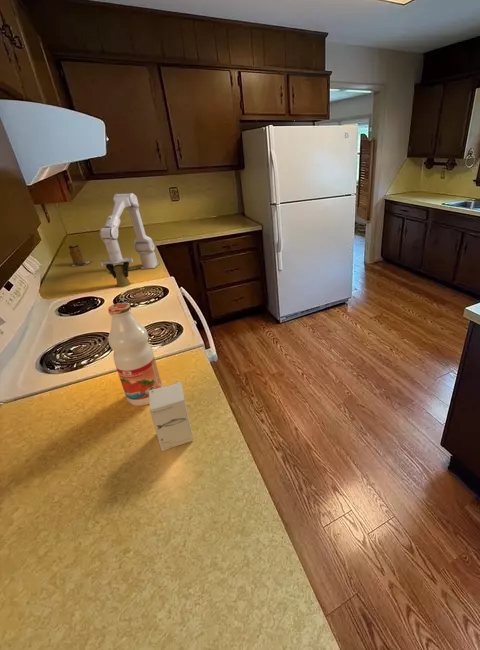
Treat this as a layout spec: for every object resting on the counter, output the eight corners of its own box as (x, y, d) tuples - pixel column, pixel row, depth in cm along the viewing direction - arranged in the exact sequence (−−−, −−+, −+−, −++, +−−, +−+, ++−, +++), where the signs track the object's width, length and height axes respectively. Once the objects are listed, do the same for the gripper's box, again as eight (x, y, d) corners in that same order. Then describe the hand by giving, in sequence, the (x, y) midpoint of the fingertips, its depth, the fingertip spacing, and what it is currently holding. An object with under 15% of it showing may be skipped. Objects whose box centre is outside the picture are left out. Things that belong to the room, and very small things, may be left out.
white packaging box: (161, 452, 75) (148, 410, 69) (159, 430, 81) (147, 389, 75) (194, 441, 77) (184, 400, 72) (190, 420, 83) (181, 380, 78)
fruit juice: (169, 385, 96) (147, 298, 84) (152, 408, 88) (124, 315, 76) (140, 383, 98) (114, 297, 86) (120, 405, 89) (87, 314, 77)
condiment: (76, 262, 211) (70, 244, 206) (90, 261, 212) (84, 243, 207) (71, 266, 205) (64, 247, 200) (85, 265, 206) (79, 246, 201)
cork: (132, 282, 175) (126, 263, 170) (125, 287, 169) (119, 266, 164) (121, 282, 175) (115, 263, 171) (114, 287, 170) (108, 266, 165)
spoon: (138, 268, 197) (138, 266, 196) (137, 270, 193) (137, 268, 192) (111, 271, 193) (110, 269, 192) (109, 273, 189) (109, 271, 189)
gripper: (96, 255, 159) (104, 281, 165) (128, 252, 163) (135, 277, 169) (99, 251, 165) (107, 276, 171) (130, 248, 169) (137, 273, 175)
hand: (121, 277), depth 170 cm, fingers open, 5 cm apart
